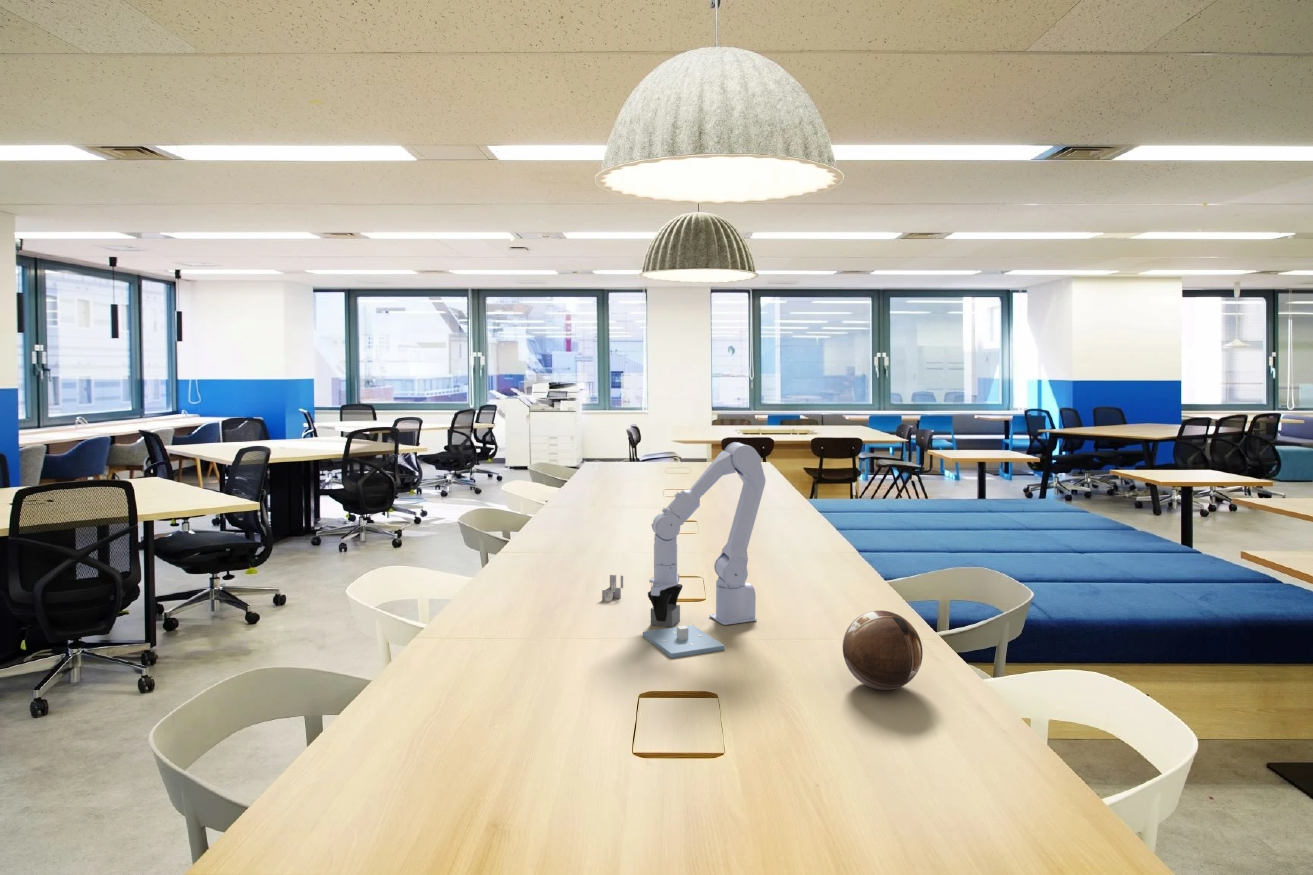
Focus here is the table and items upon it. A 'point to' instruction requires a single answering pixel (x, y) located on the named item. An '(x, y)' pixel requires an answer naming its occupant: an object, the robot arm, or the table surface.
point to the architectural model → (612, 589)
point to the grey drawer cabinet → (671, 617)
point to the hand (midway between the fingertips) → (665, 617)
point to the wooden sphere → (882, 650)
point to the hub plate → (682, 641)
